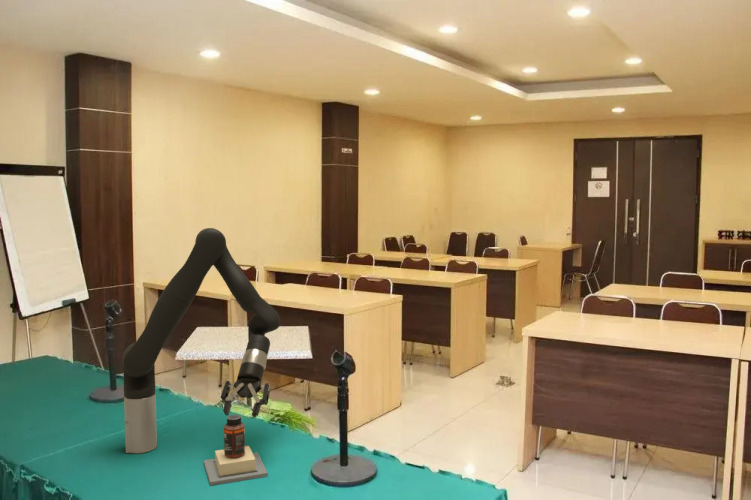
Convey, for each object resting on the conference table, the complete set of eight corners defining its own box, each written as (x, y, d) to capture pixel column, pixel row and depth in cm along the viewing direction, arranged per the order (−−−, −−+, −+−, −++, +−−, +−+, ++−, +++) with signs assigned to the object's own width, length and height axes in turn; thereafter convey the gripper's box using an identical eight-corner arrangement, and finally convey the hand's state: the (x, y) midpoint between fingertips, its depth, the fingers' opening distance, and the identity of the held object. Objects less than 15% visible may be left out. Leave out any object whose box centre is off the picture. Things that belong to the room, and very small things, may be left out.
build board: (210, 485, 175) (209, 470, 174) (203, 463, 188) (203, 448, 188) (267, 476, 180) (267, 461, 180) (257, 455, 194) (257, 441, 194)
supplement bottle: (249, 452, 186) (248, 414, 185) (238, 460, 180) (237, 421, 179) (231, 449, 188) (230, 412, 187) (220, 457, 182) (219, 419, 181)
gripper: (227, 359, 196) (213, 408, 186) (272, 362, 194) (260, 411, 183) (234, 371, 202) (220, 419, 191) (277, 374, 199) (266, 422, 189)
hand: (239, 415), depth 187 cm, fingers open, 8 cm apart
